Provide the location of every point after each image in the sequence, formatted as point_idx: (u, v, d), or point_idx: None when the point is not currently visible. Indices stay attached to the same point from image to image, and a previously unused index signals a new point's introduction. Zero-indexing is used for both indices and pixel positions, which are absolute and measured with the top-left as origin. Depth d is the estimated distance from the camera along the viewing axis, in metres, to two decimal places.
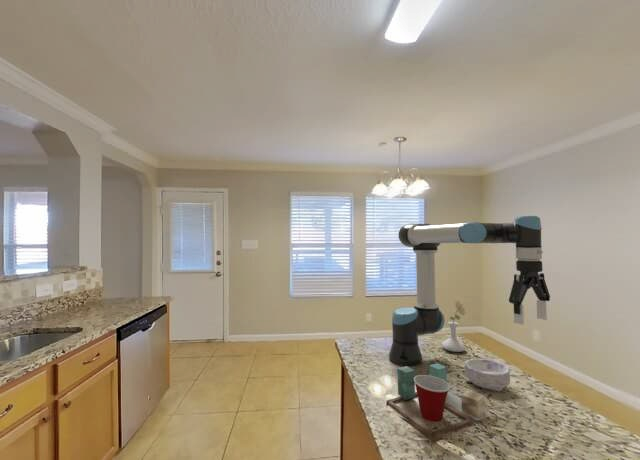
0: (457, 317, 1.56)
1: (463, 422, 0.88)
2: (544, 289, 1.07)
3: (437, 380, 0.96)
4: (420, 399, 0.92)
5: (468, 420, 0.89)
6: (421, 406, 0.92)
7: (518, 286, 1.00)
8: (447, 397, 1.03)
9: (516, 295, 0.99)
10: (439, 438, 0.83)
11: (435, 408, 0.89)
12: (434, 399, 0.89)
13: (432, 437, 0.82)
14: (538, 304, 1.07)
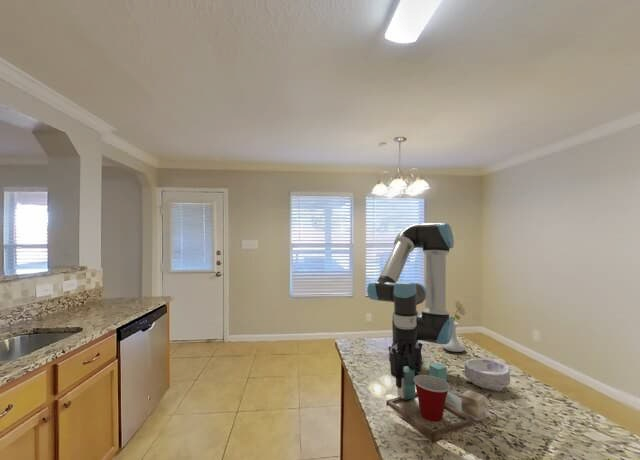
0: (457, 317, 1.56)
1: (463, 422, 0.88)
2: (417, 360, 1.05)
3: (437, 380, 0.96)
4: (420, 399, 0.92)
5: (468, 420, 0.89)
6: (421, 406, 0.92)
7: (394, 360, 1.00)
8: (447, 397, 1.03)
9: (394, 370, 1.00)
10: (439, 438, 0.83)
11: (435, 408, 0.89)
12: (434, 399, 0.89)
13: (432, 437, 0.82)
14: None
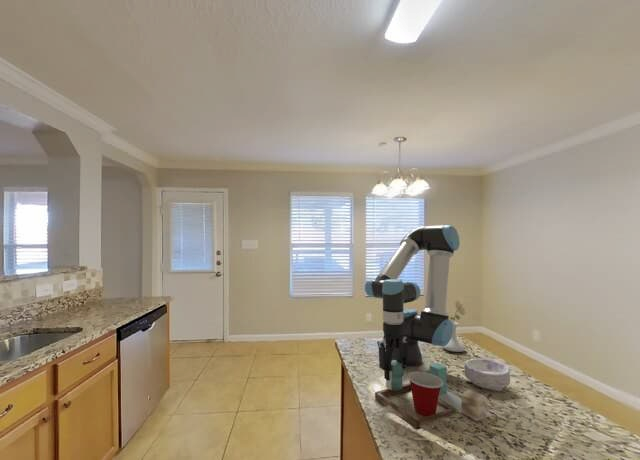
0: (457, 317, 1.56)
1: (445, 411, 0.93)
2: (404, 354, 1.11)
3: (431, 377, 0.99)
4: (414, 395, 0.94)
5: (450, 409, 0.94)
6: (414, 401, 0.94)
7: (382, 354, 1.06)
8: (447, 397, 1.03)
9: (382, 363, 1.06)
10: None
11: (428, 403, 0.91)
12: (427, 394, 0.91)
13: (415, 424, 0.88)
14: None
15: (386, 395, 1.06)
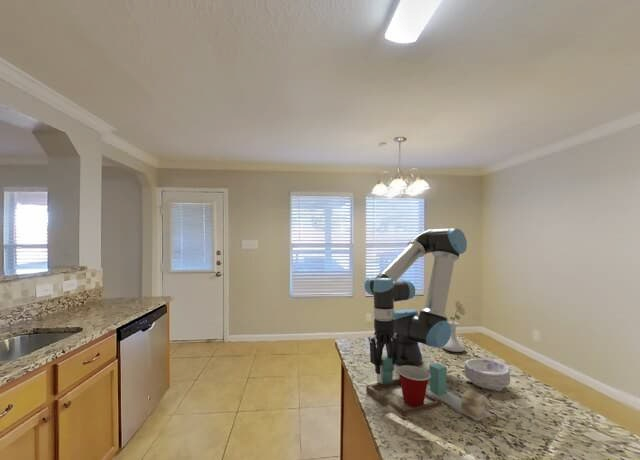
0: (457, 317, 1.56)
1: (432, 403, 0.98)
2: (395, 349, 1.15)
3: (421, 371, 1.04)
4: (402, 386, 1.00)
5: (437, 401, 0.99)
6: (403, 393, 1.00)
7: (373, 349, 1.11)
8: (447, 397, 1.03)
9: (373, 358, 1.11)
10: None
11: (415, 395, 0.97)
12: (413, 386, 0.96)
13: (403, 415, 0.93)
14: None
15: (377, 388, 1.11)
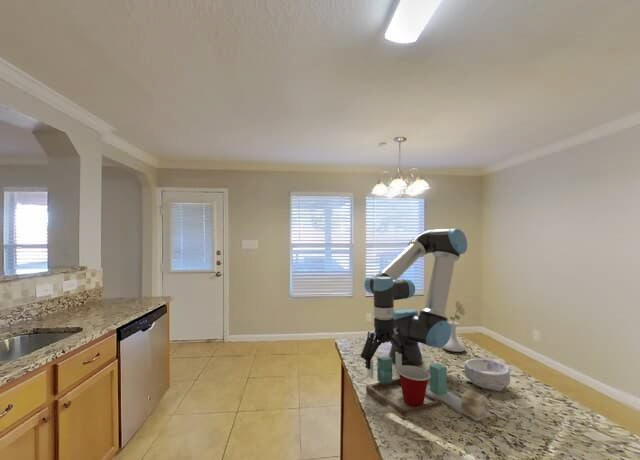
0: (457, 317, 1.56)
1: (432, 403, 0.98)
2: (401, 343, 1.17)
3: (421, 371, 1.04)
4: (402, 386, 1.00)
5: (437, 401, 0.99)
6: (403, 393, 1.00)
7: (369, 343, 1.10)
8: (447, 397, 1.03)
9: (365, 352, 1.10)
10: None
11: (414, 395, 0.97)
12: (413, 386, 0.96)
13: (403, 415, 0.93)
14: (396, 356, 1.18)
15: (377, 388, 1.11)
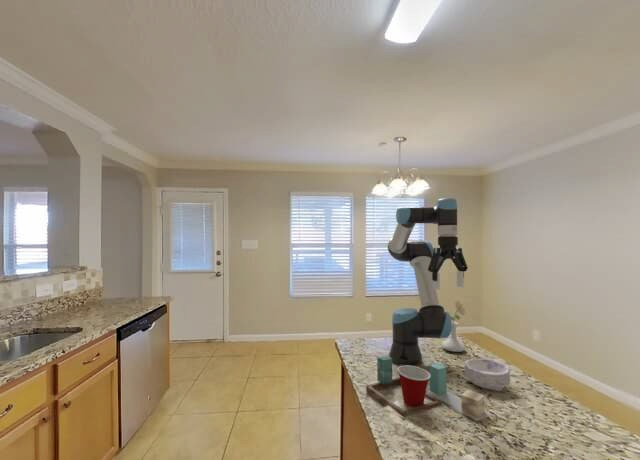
0: (457, 317, 1.56)
1: (432, 403, 0.98)
2: (462, 261, 1.25)
3: (421, 371, 1.04)
4: (402, 386, 1.00)
5: (437, 401, 0.99)
6: (403, 393, 1.00)
7: (436, 257, 1.18)
8: (447, 397, 1.03)
9: (433, 264, 1.17)
10: None
11: (414, 395, 0.97)
12: (413, 386, 0.96)
13: (403, 415, 0.93)
14: (457, 274, 1.25)
15: (377, 388, 1.11)
